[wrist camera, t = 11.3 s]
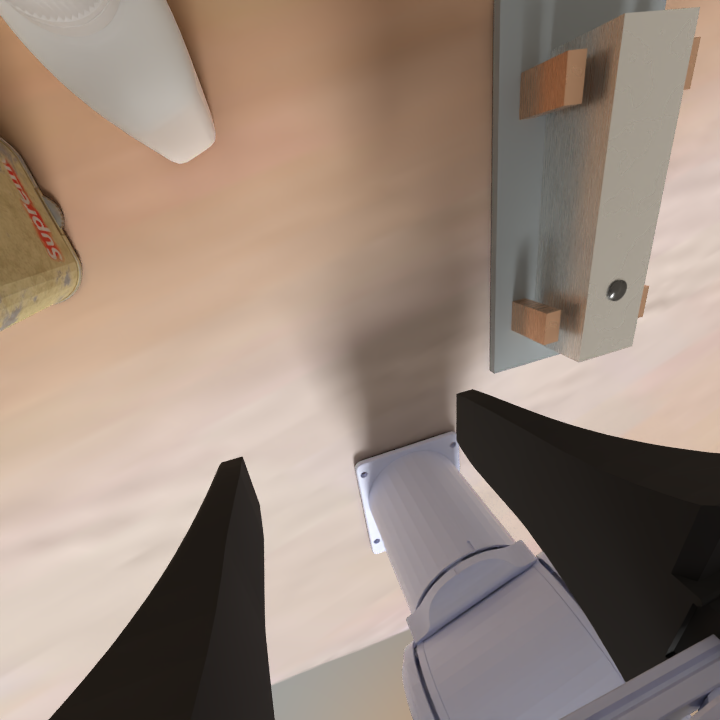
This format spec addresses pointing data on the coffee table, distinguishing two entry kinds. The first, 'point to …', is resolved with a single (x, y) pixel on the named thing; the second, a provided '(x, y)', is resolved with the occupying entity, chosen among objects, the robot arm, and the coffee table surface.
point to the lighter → (31, 245)
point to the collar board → (534, 155)
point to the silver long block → (609, 177)
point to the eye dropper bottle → (121, 66)
